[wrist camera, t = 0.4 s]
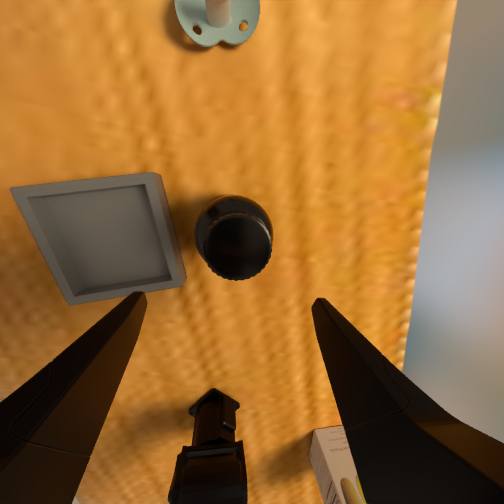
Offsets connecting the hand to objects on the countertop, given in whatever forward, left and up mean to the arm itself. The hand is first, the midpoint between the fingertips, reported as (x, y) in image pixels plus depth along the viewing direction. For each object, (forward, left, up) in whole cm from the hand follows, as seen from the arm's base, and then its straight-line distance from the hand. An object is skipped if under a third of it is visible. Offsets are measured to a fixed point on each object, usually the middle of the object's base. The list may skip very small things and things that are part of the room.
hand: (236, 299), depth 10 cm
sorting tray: (-9, +9, -15) cm, 20 cm away
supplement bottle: (+2, +1, -15) cm, 16 cm away
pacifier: (+15, +16, -16) cm, 27 cm away
